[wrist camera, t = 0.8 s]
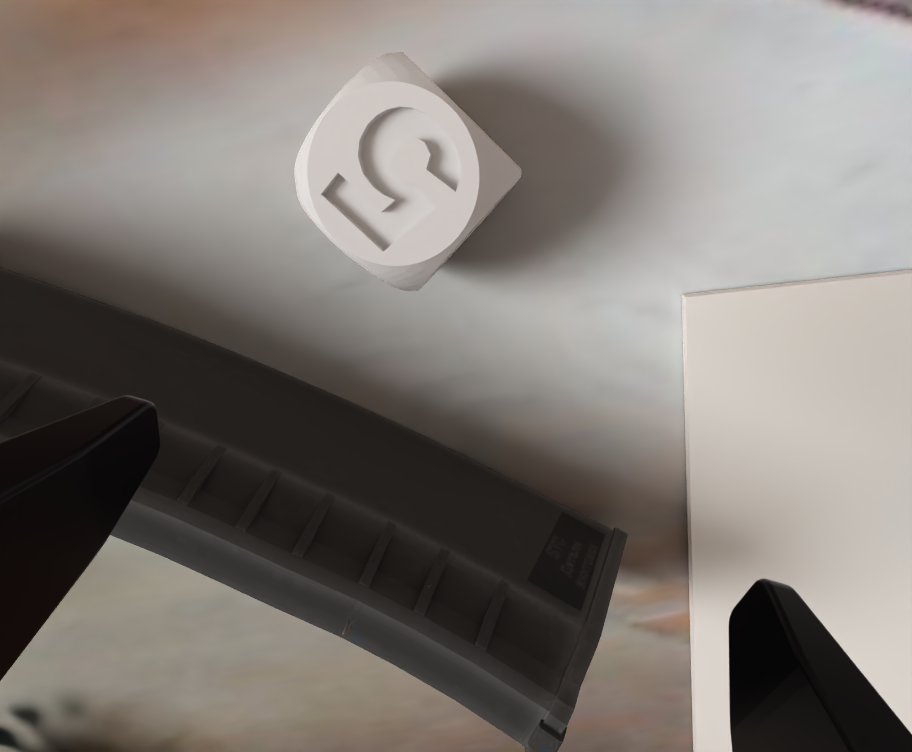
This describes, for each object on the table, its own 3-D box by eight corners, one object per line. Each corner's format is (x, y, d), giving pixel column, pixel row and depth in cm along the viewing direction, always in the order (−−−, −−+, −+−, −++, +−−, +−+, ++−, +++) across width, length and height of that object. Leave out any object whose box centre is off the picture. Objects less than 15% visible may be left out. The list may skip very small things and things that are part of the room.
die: (324, 183, 22) (267, 184, 17) (416, 66, 20) (381, 30, 15) (429, 280, 22) (401, 307, 17) (525, 173, 21) (524, 170, 16)
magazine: (762, 732, 16) (-1233, 420, 7) (698, 812, 17) (-1106, 627, 8) (557, 420, 31) (-144, 202, 22) (531, 471, 32) (-149, 283, 24)
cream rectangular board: (1070, 776, 25) (1082, 790, 25) (694, 773, 28) (697, 786, 27) (1182, 240, 19) (1202, 242, 18) (681, 294, 21) (685, 297, 21)
